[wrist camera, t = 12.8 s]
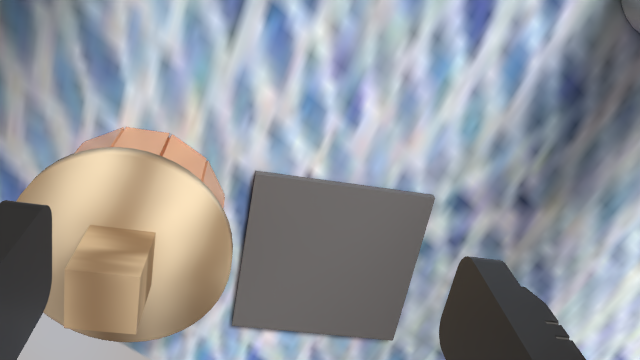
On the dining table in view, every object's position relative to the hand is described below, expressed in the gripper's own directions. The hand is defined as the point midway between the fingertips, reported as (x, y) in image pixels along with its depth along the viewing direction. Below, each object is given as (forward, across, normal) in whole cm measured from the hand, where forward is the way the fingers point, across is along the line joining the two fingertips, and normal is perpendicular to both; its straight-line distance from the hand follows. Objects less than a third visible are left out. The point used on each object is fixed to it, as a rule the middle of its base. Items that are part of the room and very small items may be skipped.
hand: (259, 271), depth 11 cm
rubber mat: (+30, -8, +18) cm, 36 cm away
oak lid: (+24, +7, +15) cm, 29 cm away
